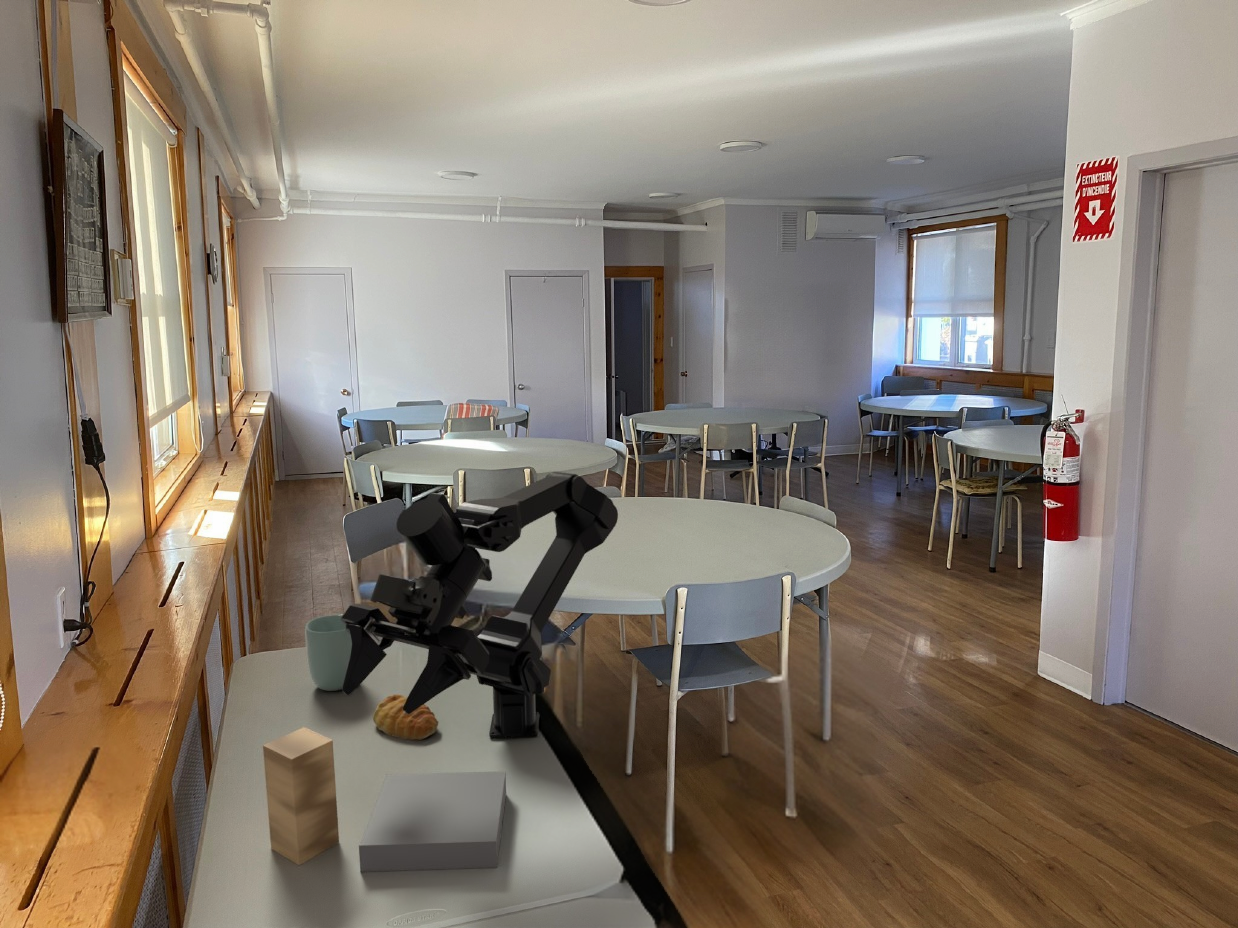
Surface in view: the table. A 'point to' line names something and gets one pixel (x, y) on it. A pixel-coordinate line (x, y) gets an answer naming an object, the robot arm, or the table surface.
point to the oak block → (301, 794)
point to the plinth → (435, 822)
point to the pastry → (404, 719)
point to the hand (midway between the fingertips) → (374, 702)
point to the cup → (328, 651)
